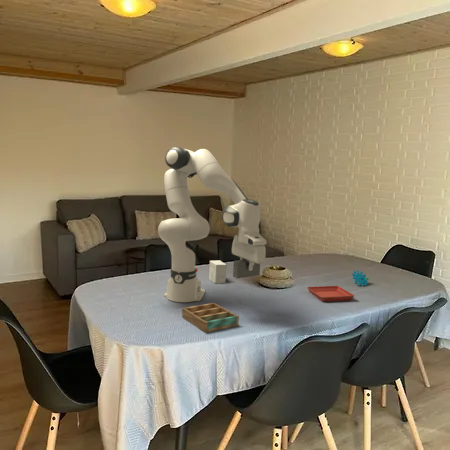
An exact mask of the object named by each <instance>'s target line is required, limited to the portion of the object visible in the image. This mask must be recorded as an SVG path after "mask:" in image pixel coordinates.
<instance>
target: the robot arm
mask: <svg viewBox="0 0 450 450" xmlns="http://www.w3.org/2000/svg"><path fill="white" fill-rule="evenodd" d="M164 160H165V164H166V165H167V167H169V168H170V169H168V170H166V171H165V173H164V176H163V183H164V185H163V186H164V191H165V197H166V202H167V203H166V204H167V207H168V209H169V211H171V212H173V213H175V214H176V215H178V218H177V217H176V218H171V217H170V218H168V219H165V220H162V221H160V223H159V225H158V227H157V234H158V236H159V238H160V239H161V241H163V242H164V243H165V244H166V245H167V246H168V248H169V250H170V254H171V255H170V256H171V269H170V278H169V279H167V286H166V292H165V293H164V294H163V296H164V297H166V298H167V300H169V301H171V302H175V303H192V302H199V301H202V299H203V297H204V295H205V293H206V291H205V289H203V288H201V286H202V285H201V280H199V278H198V277H197V273H198V267H196V253H195V252H194V251H193V250H192V249H190V248H189V247H187V245H186V242H190V241H191V242H192V241H200V240H203V239H204V238H205V239H206V238H207V237H208V236H209V234H210V231H211V229H210V228H211V227H210V224H209V221H208V220H207V219H206V218H204V217H203V216H202V215H201V214H200V213H198V212H197V210H196V208H195V207H194V205H193V203H192V200H191V197H190V196H191V195H190V192H189V187H188V183H187V182H188V181H187V180H188V178H189V179H190V178H193V177H194V176H195V175H197V176H198V178H199V180H200V181H201V183H202V184H203V185H204V187H206V188H208V189H210V190H213V191H218V192H220V193H223V194H226V195H227V196H228V197H229V198H230V199H231V201H233V203H234V204H231V205H229V206H226V207H224V209H223V211H222V214H221V219H222V222H223V224H224V225H225V226H226V227H228V228H238V233H237V234H235V235H234V237H233V241H232V244H231V254H232V255H233V256H237V257H239V260H246V259H247V260H249V263H250V264H249V266H247V270H249V271H251V270H253V265H254V263H257V264H259V263H260V264H264V263H265V261H266V253H267V251H266V250H267V249H266V246H265V245H267V240H266V239H265V238H264V237H263V236H262V235H261V234H260V228H259V226H260V222H261V207H260V203H259V202H258V201H257V200H254V199H250V198H248V197H247V196H246V194H245V192H244V191H243V190H242V189H241V188H240V186H239V185H238V184H237V183H236V182H235V180H234V179H233V178H231V177H230V176H229V175H228V174H227V173H226V172H225V170H224V169H223V168H222V167H221V165H220V163H219V162H218V160H217V159H216V158H215V156H214V155H213V154H212V153H211V151H210V150H208V149H206V148H199V149H198V150H195V151H193V150H190V149H187V148H182V147H179V146H173V147H170V148H169V149H168V150H167V151H166V153H165V157H164Z"/></svg>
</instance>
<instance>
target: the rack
mask: <svg viewBox="0 0 450 450" xmlns="http://www.w3.org/2000/svg"><path fill="white" fill-rule="evenodd" d="M181 315H182V316H181V317H182V318H183V319H184V320H186V321H187V322H188V323H190V324H192V325H194V326H195V327H196V329H197V328H198V329H199V330H201V331H202V332H204V333H210V332H214V331H218V330H223V329H229V328H233V327H238V326H239V318H240V317H239V315H237V314H235V313H234V312H232V311H230V310H228V309H226V308H224V307H223V306H221V305H220V304H217V303H215V302H211V303H206V304H205V303H204V304H199V305H191V306H188V307H187V306H186V307H182V311H181Z"/></svg>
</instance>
